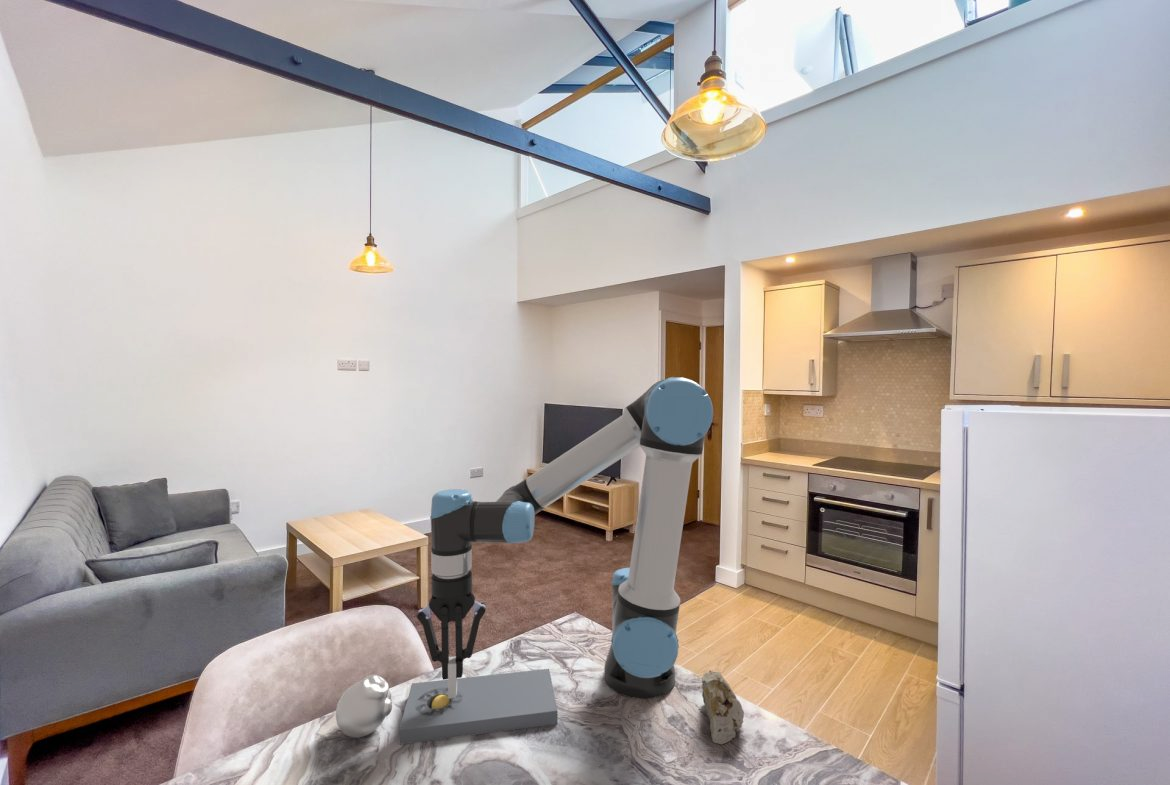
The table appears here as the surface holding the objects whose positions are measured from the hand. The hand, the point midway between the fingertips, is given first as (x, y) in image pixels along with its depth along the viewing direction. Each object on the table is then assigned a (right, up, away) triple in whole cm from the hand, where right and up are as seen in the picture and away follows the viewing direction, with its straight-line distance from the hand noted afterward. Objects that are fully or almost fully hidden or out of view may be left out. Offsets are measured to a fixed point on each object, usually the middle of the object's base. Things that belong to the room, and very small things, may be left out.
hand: (452, 693), depth 96 cm
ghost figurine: (-15, -4, -5) cm, 16 cm away
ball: (-2, -2, 0) cm, 3 cm away
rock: (+51, -4, -3) cm, 51 cm away
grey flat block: (+5, -4, +1) cm, 7 cm away
